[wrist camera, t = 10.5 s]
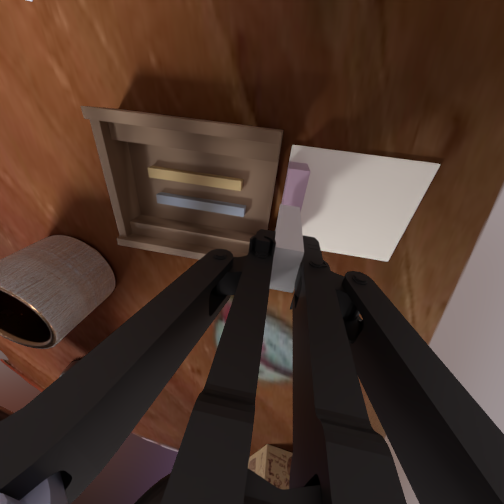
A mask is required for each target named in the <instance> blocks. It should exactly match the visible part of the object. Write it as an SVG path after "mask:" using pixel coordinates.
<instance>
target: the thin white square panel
mask: <svg viewBox="0 0 504 504" xmlns="http://www.w3.org/2000/svg"><path fill="white" fill-rule="evenodd" d="M440 165H441V164H438V163H430V162H423V161H415V160H408V159H400V158H392V157H385V156H377V155H369V154H362V153H354V152H346V151H339V150H331V149H324V148H316V147H308V146H301V145H293V144H292V148H291V154H290V159H289V165H288V170H287V176H286V181H285V186H284V192H283V197H282V203H281V204H283V205H289V206H295V207H300V214H301V224H302V234H303V235H304V236H310V237H315V238H316V239H317V240H318V241H319V245H320V249H321V250H322V251H327V252H333V253H339V254H345V255H351V256H357V257H363V258H369V259H375V260H381V261H387V262H388V261H389V259H390V257H391V255H392V253H393V251H394V250H395V248H396V246H397V244H398V242H399V240H400V239H401V237H402V235H403V233H404V231H405V229H406V228H407V226H408V224H409V222H410V220H411V218H412V216H413V215H414V213H415V211H416V209H417V207H418V205H419V204H420V202H421V200H422V198H423V196H424V194H425V193H426V191H427V189H428V187H429V185H430V183H431V182H432V180H433V178H434V176H435V174H436V172H437V170H438V169H439V167H440Z"/></svg>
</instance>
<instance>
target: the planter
mask: <svg viewBox="0 0 504 504" xmlns="http://www.w3.org/2000/svg"><path fill="white" fill-rule="evenodd" d="M115 285H116V280H115V275H114V272H113V270H112V268H111V266H110V265H109V263H108V262H107V260H106V259H105V258H104V257H103V256H102V255H101V254H100V253H99V252H98V251H97V250H95V249H94V248H93V247H91V246H90V245H88V244H87V243H85V242H83V241H81V240H79V239H76V238H73V237H70V236H66V235H53V236H50V237H46V238H44V239H42V240H40V241H38V242H36V243H34V244H32V245H30V246H28V247H26V248H24V249H21V250H19V251H17V252H15V253H13V254H11V255H9V256H7V257H5V258H3V259H1V260H0V335H1V336H3V337H4V338H6V339H9V340H11V341H13V342H16V343H18V344H21V345H24V346H27V347H32V348H38V349H48V348H52V347H54V346H55V345H56V344H57V343H58V342H60V341H61V340H62V339H63V338H64V337H65V336H66V335H67V334H68V333H69V332H70V331H71V330H72V329H73V328H75V327H76V326H77V325H78V324H79V323H80V322H81V321H82V320H83V319H84V318H85V317H86V316H88V315H89V314H90V313H91V312H92V311H93V310H94V309H95V308H96V307H97V306H99V305H100V304H101V303H102V302H103V301H104V300H105V299H106V298H107V297H108V296H109V295H110V294H111V293H112V292H113V290H114V288H115Z"/></svg>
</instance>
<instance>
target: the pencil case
mask: <svg viewBox="0 0 504 504" xmlns="http://www.w3.org/2000/svg"><path fill="white" fill-rule="evenodd" d="M81 109H82V113H83V116H84V119H90V123H91V127H92V131H93V135H94V139H95V142H96V146H97V150H98V154H99V158H100V162H101V166H102V169H103V173H104V177H105V181H106V185H107V189H108V193H109V197H110V200H111V204H112V208H113V212H114V216H115V220H116V224H117V228H118V231H119V235H120V236H119V237H117V238H116V239H117V242H118V245H121V246H127V247H132V248H138V249H143V250H149V251H154V252H160V253H165V254H171V255H177V256H182V257H188V258H193V259H199V260H200V259H201V258H202V257H203V256H205V255H206V254H207V253H208V252H210V251H211V250H214V249H226V250H228V251H230V252H231V253H232V254H233V257H242V256H246V255H248V252H249V244H250V238H251V237H252V236H254V235H256V233H257V231H259V230H260V229H264V230H268V224H269V218H270V212H271V206H272V200H273V193H274V187H275V181H276V175H277V168H278V162H279V156H280V150H281V143H282V137H283V131H284V130H280V129H272V128H264V127H257V126H249V125H241V124H233V123H225V122H217V121H209V120H202V119H194V118H186V117H178V116H170V115H162V114H155V113H147V112H139V111H131V110H123V109H114V108H101V107H88V106H81Z"/></svg>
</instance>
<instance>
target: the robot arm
mask: <svg viewBox="0 0 504 504" xmlns="http://www.w3.org/2000/svg"><path fill="white" fill-rule="evenodd" d="M294 287H295V293H294V296H293V300H292V303H291V307H290V309H292V307H293V454H292V461H291V467H290V479H289V489H279V488H277V487H276V486H274V485H273V484H271V483H270V482H268V481H267V480H265V479H264V478H262V477H261V476H259V475H258V474H256V473H255V472H253V471H251V470H250V469H248V463H249V455H250V447H251V439H252V431H253V423H254V414H255V397H256V389H257V381H258V373H259V366H260V358H261V350H262V342H263V335H264V327H265V319H266V311H267V304H268V296H269V288H270V289H275V290H281V291H286V292H291V293H293V290H294ZM231 295H234V299H233V302H232V305H231V308H230V311H229V314H228V317H227V320H226V323H225V326H224V329H223V332H222V335H221V338H220V342H219V345H218V348H217V351H216V354H215V357H214V360H213V363H212V366H211V369H210V372H209V375H208V378H207V381H206V384H205V387H204V389H203V391H202V392H201V393H200V394H199V396H198V398H197V400H196V402H195V405H194V408H193V410H192V413H191V416H190V419H189V422H188V425H187V428H186V431H185V434H184V437H183V440H182V443H181V446H180V448H179V451H178V454H177V457H176V460H175V463H174V466H173V469H172V472H171V473H170V474H168V475H167V476H165V477H164V478H162V479H161V480H159V481H158V482H157V483H156V484H154V485H153V486H152V487H151V488H150V489H149V490H148V491H147V492H145V493H144V494H143V495H142V496H141V497H140V498H139V499H138V500H137V502H136V503H135V504H407V503H406V500H405V497H404V493H403V490H402V487H401V483H400V480H399V477H398V473H397V470H396V467H395V463H394V460H393V457H392V455H391V452H390V449H389V447H388V445H387V443H386V441H385V440H384V438H383V437H382V436H381V435H380V434H378V433H377V432H375V431H374V430H373V428H372V427H371V424H370V421H369V418H368V414H367V410H366V406H365V402H364V399H363V395H362V391H361V387H360V383H359V379H360V381H361V383H362V385H363V387H364V389H365V391H366V393H367V396H368V398H369V400H370V402H371V404H372V406H373V408H374V410H375V412H376V414H377V416H378V418H379V420H380V422H381V425H382V427H383V429H384V431H385V433H386V435H387V437H388V439H389V441H390V443H391V445H392V447H393V449H394V451H395V454H396V456H397V458H398V460H399V462H400V464H401V466H402V468H403V470H404V472H405V474H406V476H407V478H408V480H409V483H410V484H411V487H412V489H413V491H414V493H415V495H416V497H417V499H418V501H419V503H420V504H504V434H503V433H502V432H501V430H500V429H499V428H498V427H497V426H496V425H495V424H494V422H493V421H492V420H491V419H490V418H489V416H488V415H487V414H486V413H485V412H484V411H483V409H482V408H481V407H480V406H479V405H478V403H477V402H476V401H475V400H474V399H473V398H472V396H471V395H470V394H469V393H468V392H467V391H466V389H465V388H464V387H463V386H462V385H461V383H460V382H459V381H458V380H457V379H456V378H455V376H454V375H453V374H452V373H451V372H450V371H449V369H448V368H447V367H446V366H445V365H444V364H443V362H442V361H441V360H440V359H439V358H438V357H437V355H436V354H435V353H434V352H433V351H432V349H431V348H430V347H429V346H428V345H427V343H426V342H425V341H424V340H423V339H422V338H421V336H420V335H419V334H418V333H417V332H416V331H415V329H414V328H413V327H412V326H411V325H410V324H409V322H408V321H407V320H406V319H405V318H404V316H403V315H402V314H401V313H400V312H399V311H398V309H397V308H396V307H395V306H394V305H393V304H392V302H391V301H390V300H389V299H388V298H387V296H386V295H385V294H384V293H383V292H382V291H381V289H380V288H379V287H378V286H377V285H376V284H375V282H374V281H373V280H372V279H371V278H370V277H368V276H367V275H365V274H363V273H361V272H355V271H350V272H347V273H346V274H345V277H344V276H341V275H339V274H336V273H334V272H332V271H330V267H329V265H328V263H326V262H325V261H324V260H323V258H322V254H321V249H320V245H319V241H318V240H317V239H316V238H315V237H310V236H304V235H303V234H302V224H301V214H300V207H295V206H289V205H283V204H280V207H279V213H278V218H277V224H276V229H275V231H270V230H264V229H260V230H259V231H257V233H256V235H254V236H252V237H251V238H250V244H249V252H248V255H246V256H242V257H233V254H232V253H231V252H230V251H228V250H226V249H214V250H211V251H210V252H208V253H207V254H206V255H205V256H203V257H202V258H201V259H200V260H199V261H197V262H196V263H195V264H194V265H193V266H191V267H190V268H189V269H188V270H187V271H186V272H184V273H183V274H182V275H181V276H180V277H178V278H177V279H176V280H175V281H174V282H172V283H171V284H170V285H169V286H168V287H166V288H165V289H164V290H163V291H162V292H161V293H159V294H158V295H157V296H156V297H155V298H153V299H152V300H151V301H150V302H149V303H147V304H146V305H145V306H144V307H143V308H141V309H140V310H139V311H138V312H137V313H136V314H134V315H133V316H132V317H131V318H130V319H128V320H127V321H126V322H125V323H124V324H122V325H121V326H120V327H119V328H118V329H117V330H115V331H114V332H113V333H112V334H111V335H109V336H108V337H107V338H106V339H105V340H103V341H102V342H101V343H100V344H99V345H97V346H96V347H95V348H94V349H93V350H92V351H90V352H89V353H88V354H87V355H86V356H84V357H83V358H82V359H81V360H77V361H73V362H71V363H70V364H69V365H68V366H67V367H66V369H65V370H64V371H63V372H62V373H61V375H60V377H59V378H58V379H57V380H56V381H55V382H53V383H52V384H51V385H50V386H49V387H48V388H46V389H45V390H44V391H43V392H42V393H40V394H39V395H38V396H37V397H36V398H35V399H34V400H32V401H31V402H30V403H28V404H27V405H26V406H25V407H24V408H22V409H20V410H19V411H17V412H15V413H13V412H11V411H10V410H8V409H6V408H4V407H2V406H0V504H71V503H72V502H73V501H74V500H75V499H76V498H77V497H78V496H79V495H80V494H81V493H82V492H83V491H84V490H85V488H86V487H87V486H88V485H89V484H90V483H91V482H92V481H93V480H94V479H95V477H96V476H97V475H98V474H99V473H100V472H101V471H102V469H103V468H104V467H105V466H106V464H107V463H108V462H109V461H110V459H111V458H112V457H113V455H114V454H115V453H116V452H117V450H118V449H119V448H120V446H121V445H122V444H123V442H124V441H125V440H126V438H127V437H128V436H129V434H130V433H131V431H132V430H133V429H134V427H135V426H136V425H137V423H138V422H139V421H140V419H141V418H142V417H143V415H144V414H145V412H146V411H147V410H148V408H149V407H150V406H151V404H152V403H153V402H154V400H155V399H156V398H157V396H158V395H159V393H160V392H161V391H162V389H163V388H164V387H165V385H166V384H167V383H168V381H169V380H170V379H171V377H172V376H173V375H174V373H175V372H176V370H177V369H178V368H179V366H180V365H181V364H182V362H183V361H184V360H185V358H186V357H187V356H188V354H189V353H190V351H191V350H192V349H193V347H194V346H195V345H196V343H197V342H198V341H199V339H200V338H201V337H202V335H203V334H204V332H205V331H206V330H207V328H208V327H209V326H210V324H211V323H212V322H213V320H214V319H215V318H216V316H217V315H218V313H219V312H220V311H221V309H222V308H223V307H224V305H225V304H226V303H227V301H228V300H229V299H230V296H231ZM359 314H361V316H362V318H363V320H362V319H361V318H360V317H359ZM358 377H359V379H358Z"/></svg>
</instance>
